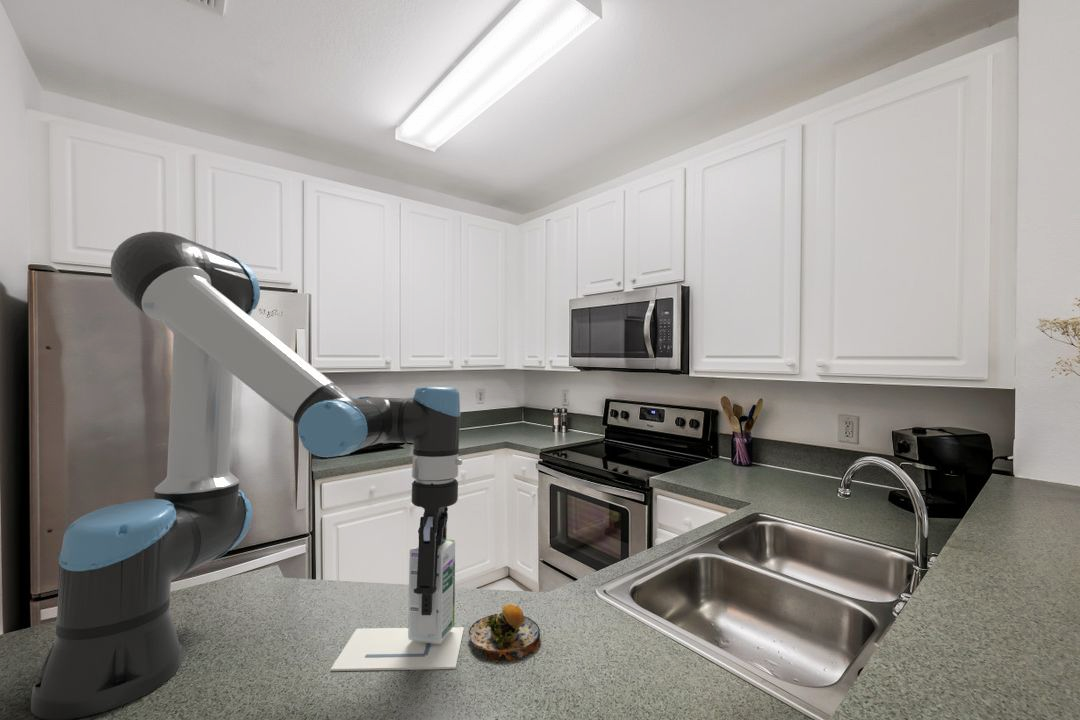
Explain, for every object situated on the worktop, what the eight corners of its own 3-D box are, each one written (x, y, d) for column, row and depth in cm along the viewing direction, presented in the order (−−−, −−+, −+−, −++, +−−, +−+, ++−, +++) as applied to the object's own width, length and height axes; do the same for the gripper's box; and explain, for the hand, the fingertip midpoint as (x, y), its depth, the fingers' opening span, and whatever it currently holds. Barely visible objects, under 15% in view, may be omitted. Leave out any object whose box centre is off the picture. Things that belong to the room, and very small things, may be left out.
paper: (330, 671, 66) (330, 668, 66) (356, 630, 77) (356, 628, 77) (455, 668, 67) (455, 666, 67) (463, 629, 78) (464, 626, 78)
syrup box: (440, 645, 72) (443, 551, 73) (406, 640, 73) (409, 547, 74) (454, 626, 77) (457, 539, 78) (422, 622, 79) (424, 536, 79)
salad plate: (494, 616, 83) (494, 574, 84) (552, 634, 78) (553, 589, 78) (452, 650, 73) (453, 602, 73) (517, 673, 67) (517, 620, 68)
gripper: (449, 493, 67) (445, 656, 66) (464, 468, 86) (461, 593, 85) (397, 493, 67) (392, 656, 65) (424, 468, 86) (420, 594, 85)
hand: (431, 620), depth 75 cm, fingers closed on syrup box, 6 cm apart
